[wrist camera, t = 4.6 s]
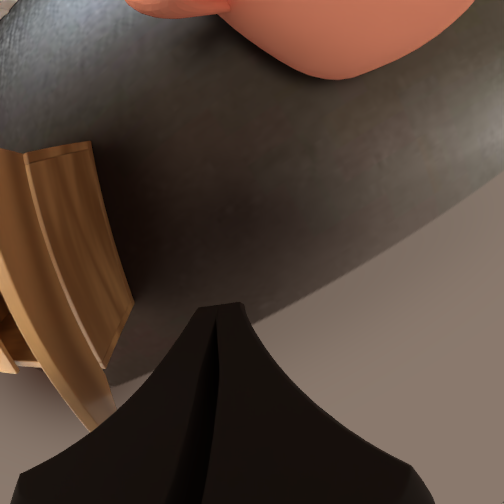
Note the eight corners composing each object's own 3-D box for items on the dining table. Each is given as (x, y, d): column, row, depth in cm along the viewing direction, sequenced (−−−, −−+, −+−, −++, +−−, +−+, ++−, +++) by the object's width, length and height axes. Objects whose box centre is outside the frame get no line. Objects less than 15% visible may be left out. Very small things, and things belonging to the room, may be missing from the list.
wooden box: (90, 140, 15) (16, 154, 8) (135, 303, 19) (101, 379, 12) (-33, 193, 15) (-95, 224, 8) (11, 314, 19) (-32, 367, 12)
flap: (14, 156, 8) (23, 153, 8) (99, 378, 13) (106, 375, 13) (-41, 148, 3) (-26, 140, 3) (135, 480, 7) (145, 476, 8)
